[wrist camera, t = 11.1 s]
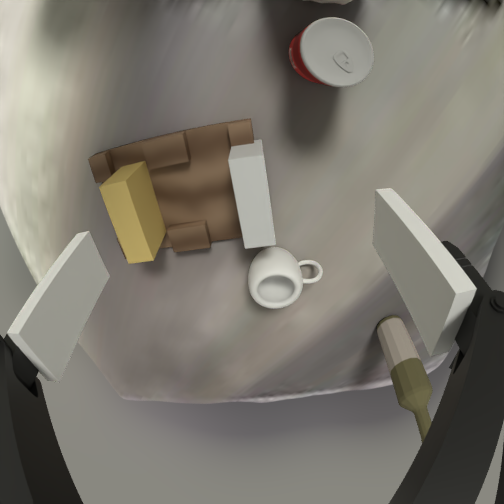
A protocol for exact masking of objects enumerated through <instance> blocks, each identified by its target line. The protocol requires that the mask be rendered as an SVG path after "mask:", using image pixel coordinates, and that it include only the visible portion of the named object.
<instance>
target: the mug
mask: <svg viewBox="0 0 504 504" xmlns="http://www.w3.org/2000/svg"><path fill="white" fill-rule="evenodd" d="M305 264H311V265H314V266H316V267H317V269H318V275H317V276H316V277H315V278H312V279H303V278H302V273H301V269H300V266H301V265H305ZM322 274H323V270H322V267H321V266H320V264H319V263H317V262H316V261H313V260H303V261H300V262H297V260H296V259H295V258H294V256H293V255H292V254H291V253H290V252H288V251H287V250H285V249H283V248H280V247H269V248H266V249H264V250H262V251H260V252H259V253H258V254H257V255H256V256H255V257H254V259H253V261H252V263H251V266H250V269H249V274H248V286H249V290H250V294H251V296H252V297H253V299H254V300H255V301H256V302H257V303H258V304H259V305H261V306H263V307H266V308H271V309H279V308H284V307H287V306H289V305H291V304H292V303H294V302H295V301H296V300H297V299H298V297H299V296H300V294H301V291H302V287H303V283H310V284H311V283H315V282H317V281H318V280H320V278H321V277H322Z"/></svg>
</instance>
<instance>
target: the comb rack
mask: <svg viewBox="0 0 504 504" xmlns="http://www.w3.org/2000/svg"><path fill="white" fill-rule="evenodd" d="M253 143H254V136H253V130H252V123H251V118H250V119H244V120H237V121H231V122H225V123H219V124H214V125H208V126H203V127H198V128H193V129H188V130H183V131H179V132H174V133H170V134H166V135H161V136H157V137H153V138H149V139H145V140H141V141H138V142H134V143H130V144H127V145H123V146H120V147H116V148H113V149H110V150H106V151H103V152H100V153H97V154H95V155H93V156H92V157H90V158H89V159H88V160H89V163H90V167H91V170H92V173H93V176H94V179H95V182H96V183H98V182H102V184H103V183H104V182H105V181H106V180H108V179H109V178H110V177H111V176H112V175H113V174H114V173H115V172H116V171H117V170H119V169H120V168H121V167H123V166H126V165H130V164H134V163H138V162H142V161H146V165H147V169H148V172H149V176H150V179H151V182H152V186H153V189H154V193H155V196H156V199H157V202H158V206H159V209H160V212H161V215H162V219H163V222H164V225H165V228H166V234H165V236H164V238H163V240H162V243H161V245H160V247H159V249H160V248H167V247H172V248H173V251H174V252H181V251H188V250H196V249H203V248H210V247H211V242H212V241H218V240H225V239H233V238H240V237H243V235H242V230H241V225H240V220H239V214H238V209H237V204H236V199H235V194H234V188H233V183H232V178H231V173H230V167H229V162H228V159H229V154H230V150H231V147H233V146H239V145H246V144H253ZM117 240H118V243H119V245H120V247H121V250H122V252H123V255H124V257H125V259H127V258H126V256H125V253H124V251H123V248H122V246H121V244H120V241H119V239H118V238H117Z"/></svg>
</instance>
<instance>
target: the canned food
mask: <svg viewBox="0 0 504 504" xmlns="http://www.w3.org/2000/svg"><path fill="white" fill-rule="evenodd" d="M289 58H290V62H291V64H292V66H293V68H294V69H295V71H296V72H297V73H298V74H299V75H301V76H302V77H303V78H305V79H307V80H309V81H312V82H315V83H320V84H324V85H328V86H334V87H350V86H354V85H357V84H359V83H361V82H362V81H363V80H365V79H366V78H367V76H368V75H369V74H370V72H371V70H372V67H373V63H374V52H373V47H372V45H371V42H370V40H369V39H368V37H367V35H366V34H365V33H364V32H363V31H362V30H361V29H360V28H359V27H358V26H357V25H355V24H353V23H352V22H350V21H348V20H345V19H342V18H336V17H328V18H323V19H319V20H317V21H315V22H313V23H311V24H310V25H309V26H307V27H306V28H305V29H303V30H302V31H301V32H300V33H298V34H297V35H296V36H295V37H294V38H293V39H292V41H291V43H290V46H289Z"/></svg>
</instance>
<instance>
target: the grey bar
mask: <svg viewBox="0 0 504 504" xmlns="http://www.w3.org/2000/svg"><path fill="white" fill-rule="evenodd" d="M228 162H229V167H230V173H231V178H232V183H233V188H234V194H235V199H236V204H237V209H238V214H239V220H240V225H241V230H242V235H243V240H244V245H245V249H247V248H255V247H263V246H270V245H276V242H275V234H274V226H273V219H272V211H271V204H270V196H269V189H268V182H267V175H266V168H265V161H264V154H263V147H262V140H261V139H259V140H254V143H253V144H246V145H239V146H233V147H231V150H230V154H229V159H228Z"/></svg>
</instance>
